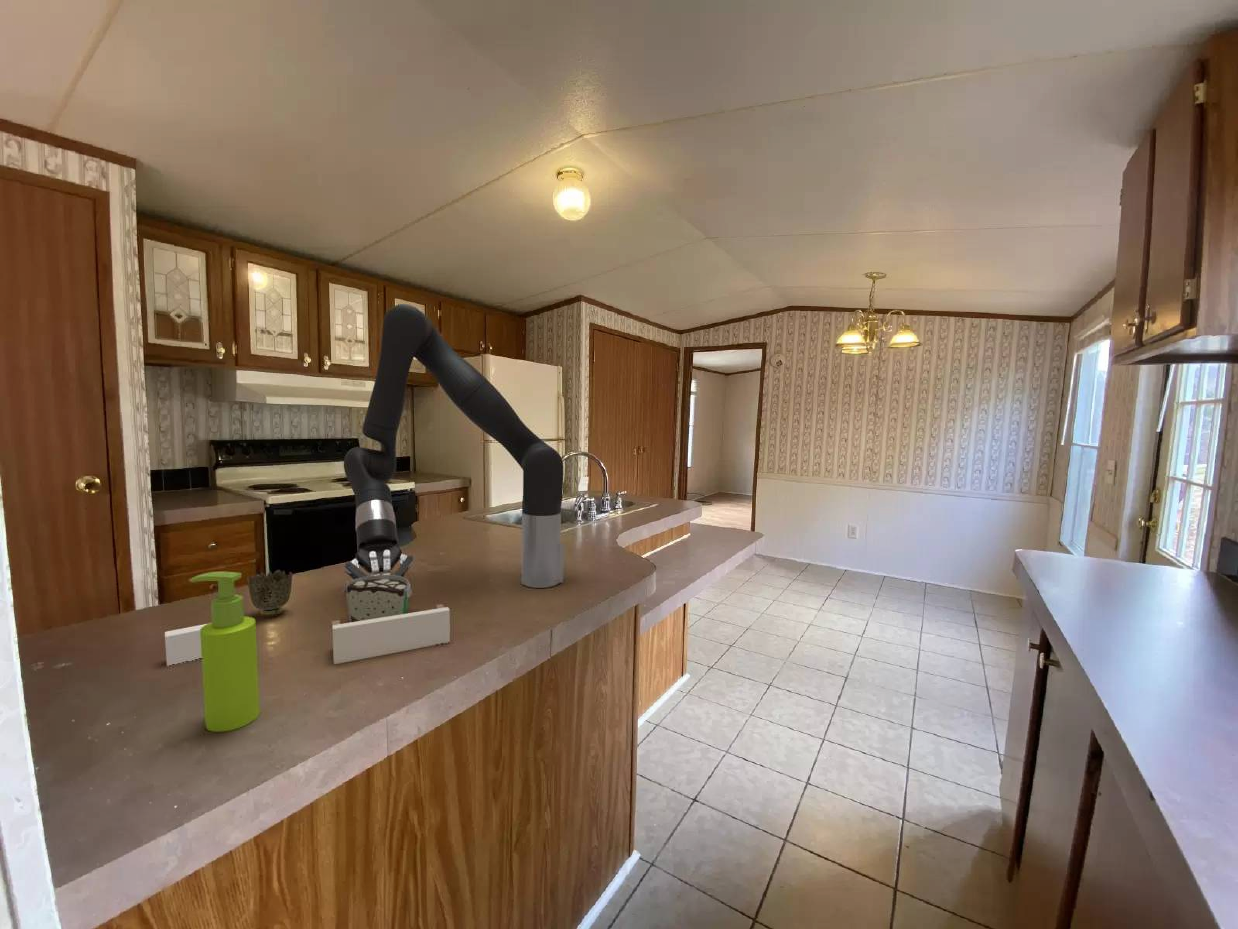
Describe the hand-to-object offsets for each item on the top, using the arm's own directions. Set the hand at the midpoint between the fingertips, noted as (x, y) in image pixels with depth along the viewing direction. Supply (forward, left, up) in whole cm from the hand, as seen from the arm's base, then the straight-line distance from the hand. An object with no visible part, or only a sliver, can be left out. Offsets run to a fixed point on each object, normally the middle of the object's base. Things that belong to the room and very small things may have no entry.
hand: (383, 604), depth 101 cm
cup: (+19, -16, -5) cm, 25 cm away
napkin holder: (+26, 0, -5) cm, 26 cm away
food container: (0, +2, -5) cm, 5 cm away
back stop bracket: (0, +8, -4) cm, 9 cm away
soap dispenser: (+22, +22, -5) cm, 32 cm away
